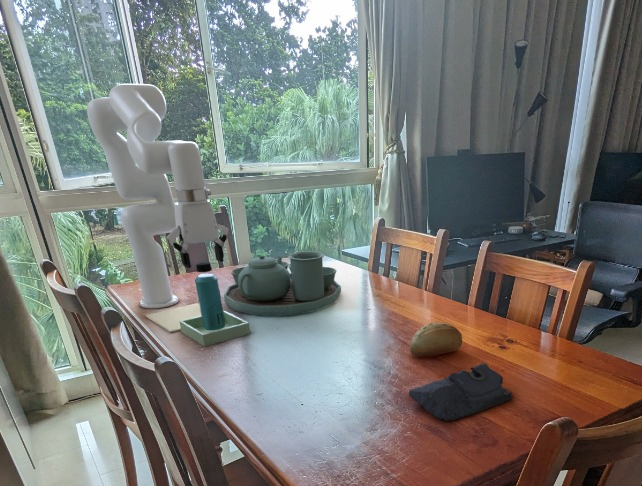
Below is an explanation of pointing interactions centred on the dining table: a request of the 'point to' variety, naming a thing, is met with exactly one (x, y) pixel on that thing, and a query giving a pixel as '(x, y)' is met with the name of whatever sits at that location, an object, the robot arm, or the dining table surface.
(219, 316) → the beverage bottle
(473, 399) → the folded black shirt
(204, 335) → the tray
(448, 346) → the bread roll
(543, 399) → the dining table surface
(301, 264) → the tea set
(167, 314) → the mat
